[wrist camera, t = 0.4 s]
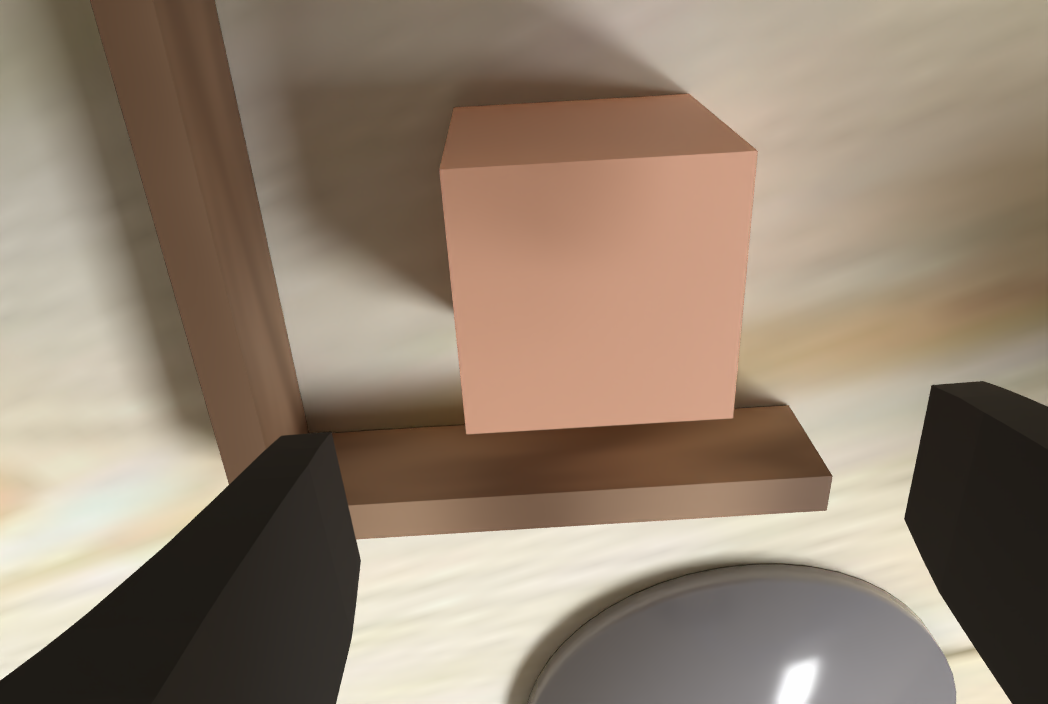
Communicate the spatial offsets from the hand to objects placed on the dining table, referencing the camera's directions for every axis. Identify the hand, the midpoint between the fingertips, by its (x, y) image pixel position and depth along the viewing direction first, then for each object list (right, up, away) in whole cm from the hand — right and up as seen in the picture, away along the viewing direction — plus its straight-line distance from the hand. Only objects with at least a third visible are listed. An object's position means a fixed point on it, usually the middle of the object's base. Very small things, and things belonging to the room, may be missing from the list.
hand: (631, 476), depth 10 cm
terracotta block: (0, +5, +8) cm, 10 cm away
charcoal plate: (+6, -11, +17) cm, 21 cm away
